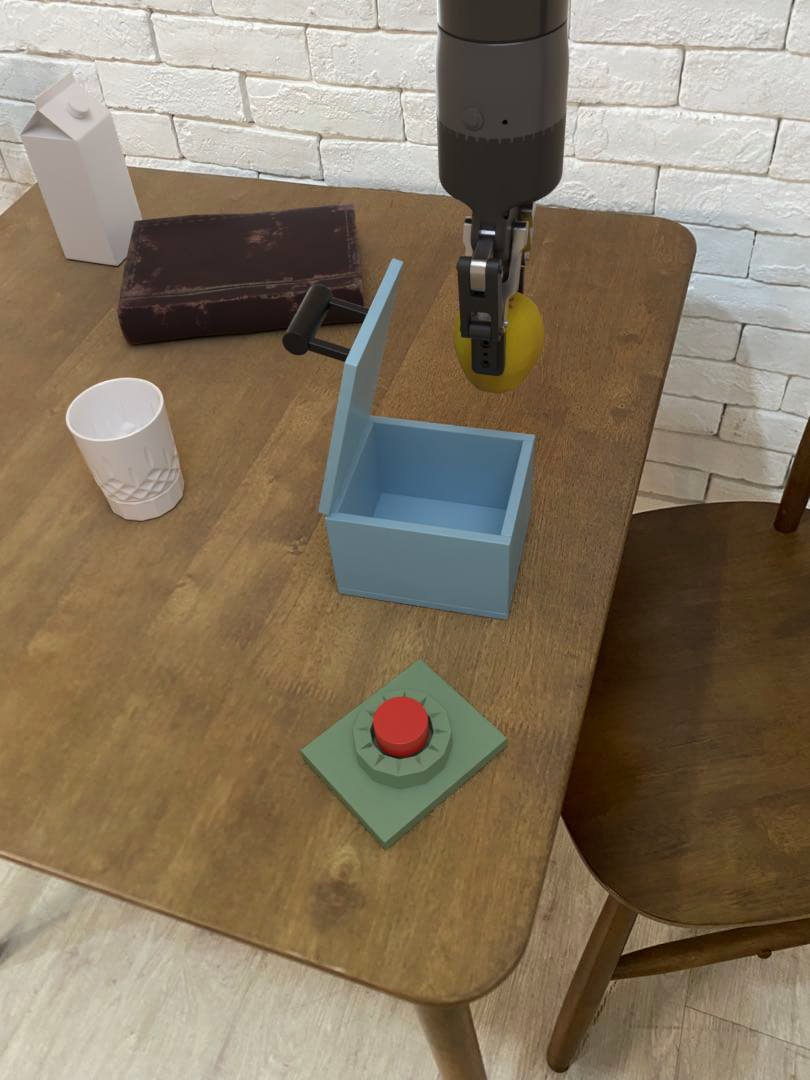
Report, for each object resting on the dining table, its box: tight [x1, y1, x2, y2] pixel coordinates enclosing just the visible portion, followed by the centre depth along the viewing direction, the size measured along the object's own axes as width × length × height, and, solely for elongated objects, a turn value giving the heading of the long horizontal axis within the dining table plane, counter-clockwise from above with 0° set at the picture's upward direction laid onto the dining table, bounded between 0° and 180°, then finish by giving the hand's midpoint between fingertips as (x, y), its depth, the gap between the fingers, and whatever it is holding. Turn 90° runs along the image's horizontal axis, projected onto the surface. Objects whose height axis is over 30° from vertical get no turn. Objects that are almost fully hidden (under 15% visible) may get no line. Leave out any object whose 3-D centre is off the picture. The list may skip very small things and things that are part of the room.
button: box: [373, 697, 429, 757], centre depth 62 cm, size 4×4×2 cm
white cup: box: [65, 377, 185, 522], centre depth 80 cm, size 8×8×10 cm
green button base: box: [300, 658, 508, 851], centre depth 64 cm, size 11×9×3 cm
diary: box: [116, 202, 366, 345], centre depth 102 cm, size 19×25×5 cm
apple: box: [452, 292, 545, 395], centre depth 66 cm, size 6×6×8 cm
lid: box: [281, 258, 404, 516], centre depth 66 cm, size 14×12×6 cm
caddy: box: [324, 414, 536, 621], centre depth 74 cm, size 14×12×9 cm
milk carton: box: [19, 70, 143, 267], centre depth 105 cm, size 7×7×19 cm
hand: (498, 340), depth 66 cm, fingers closed on apple, 6 cm apart
